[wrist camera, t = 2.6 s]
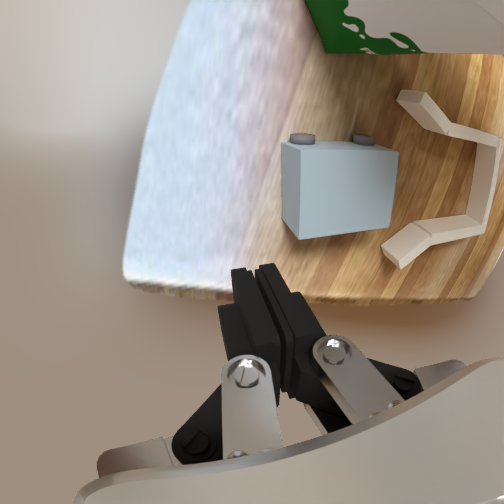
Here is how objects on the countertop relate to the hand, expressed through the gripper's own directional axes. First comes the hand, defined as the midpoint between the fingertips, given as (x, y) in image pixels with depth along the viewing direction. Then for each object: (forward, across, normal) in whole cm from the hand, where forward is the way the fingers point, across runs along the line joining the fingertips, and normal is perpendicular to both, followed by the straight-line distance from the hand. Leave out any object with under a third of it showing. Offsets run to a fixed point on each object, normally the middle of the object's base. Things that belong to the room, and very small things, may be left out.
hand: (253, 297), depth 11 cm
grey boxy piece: (+14, -10, 0) cm, 17 cm away
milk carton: (+14, -12, -16) cm, 25 cm away
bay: (+14, -27, 0) cm, 30 cm away
